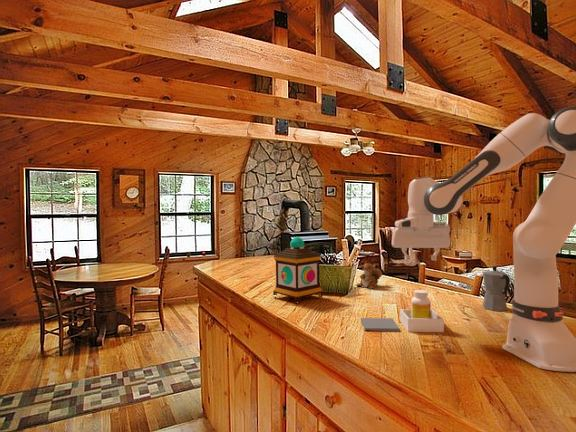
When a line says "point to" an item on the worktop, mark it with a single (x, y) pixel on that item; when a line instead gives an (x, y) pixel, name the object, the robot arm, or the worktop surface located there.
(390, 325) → the mat
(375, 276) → the stuffed squirrel
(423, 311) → the supplement bottle
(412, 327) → the bin
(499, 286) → the coffeepot
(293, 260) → the decorative lantern
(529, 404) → the worktop surface
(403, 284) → the worktop surface
